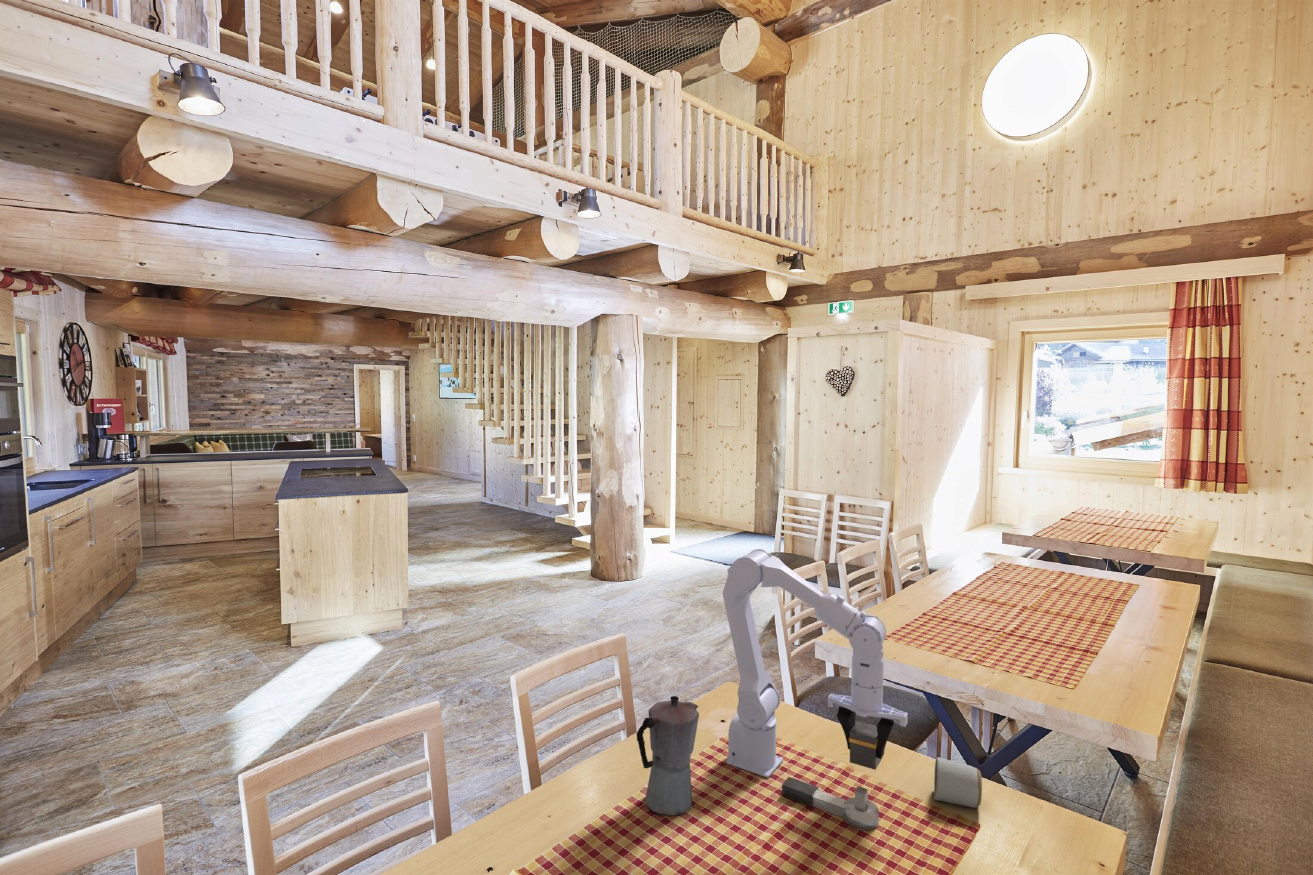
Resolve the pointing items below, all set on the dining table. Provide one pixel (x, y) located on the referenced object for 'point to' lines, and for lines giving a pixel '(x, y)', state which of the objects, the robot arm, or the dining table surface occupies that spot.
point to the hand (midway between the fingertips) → (865, 751)
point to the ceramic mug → (957, 783)
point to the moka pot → (669, 755)
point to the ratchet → (835, 803)
